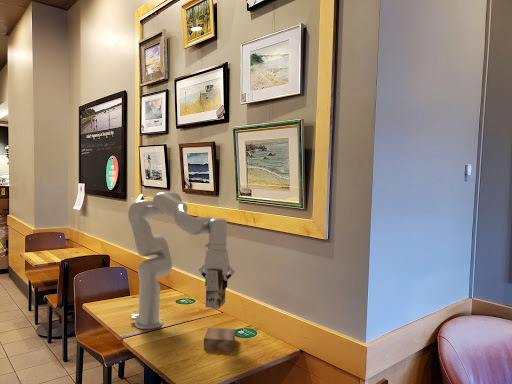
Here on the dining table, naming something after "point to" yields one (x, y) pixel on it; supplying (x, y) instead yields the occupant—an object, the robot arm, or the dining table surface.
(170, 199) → the robot arm
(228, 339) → the walnut block
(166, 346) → the dining table surface
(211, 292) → the coffee box
